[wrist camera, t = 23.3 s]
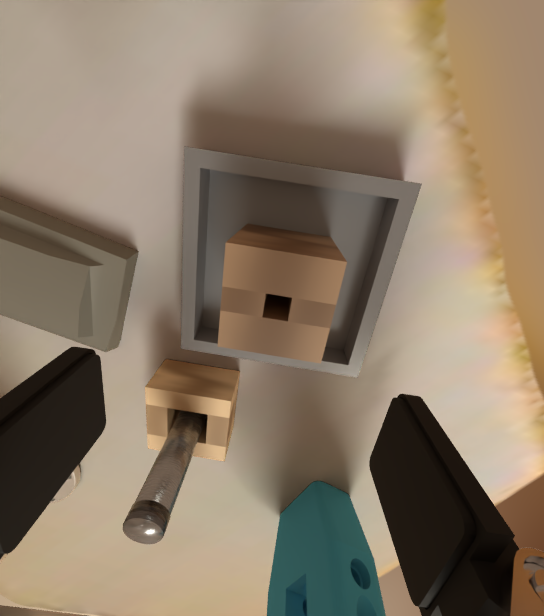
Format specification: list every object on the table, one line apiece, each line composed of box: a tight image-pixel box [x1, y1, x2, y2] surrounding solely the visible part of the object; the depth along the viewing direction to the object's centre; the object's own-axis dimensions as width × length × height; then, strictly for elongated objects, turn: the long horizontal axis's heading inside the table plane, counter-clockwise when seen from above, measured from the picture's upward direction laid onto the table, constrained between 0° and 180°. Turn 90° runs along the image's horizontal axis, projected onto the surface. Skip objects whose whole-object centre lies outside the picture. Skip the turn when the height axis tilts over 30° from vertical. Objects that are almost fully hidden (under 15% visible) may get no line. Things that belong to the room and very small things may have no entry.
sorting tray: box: [181, 146, 422, 378], centre depth 21 cm, size 14×14×3 cm
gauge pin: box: [123, 410, 207, 544], centre depth 23 cm, size 2×2×12 cm
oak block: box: [145, 359, 240, 461], centre depth 26 cm, size 7×7×4 cm
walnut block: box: [218, 224, 347, 363], centre depth 18 cm, size 6×6×7 cm
